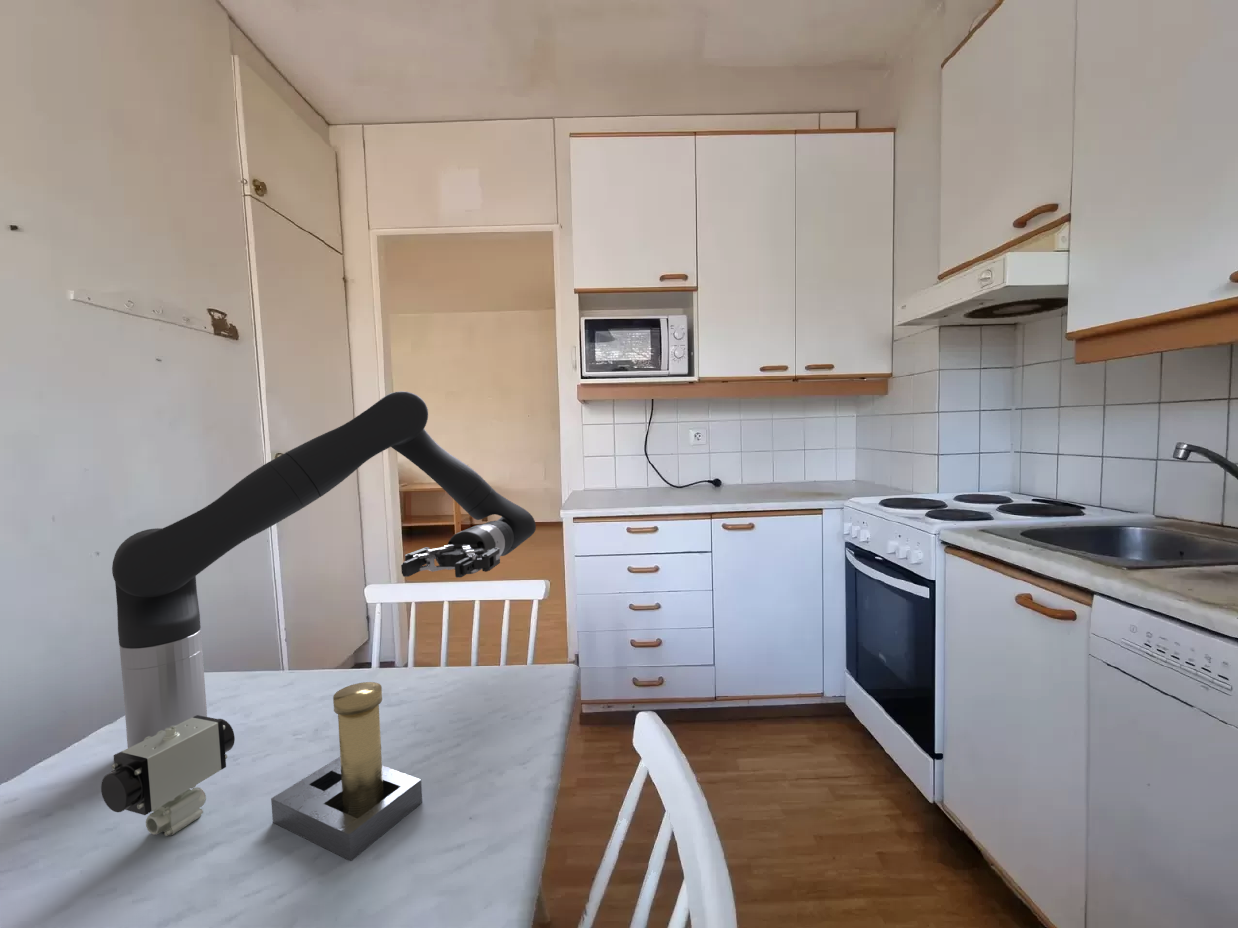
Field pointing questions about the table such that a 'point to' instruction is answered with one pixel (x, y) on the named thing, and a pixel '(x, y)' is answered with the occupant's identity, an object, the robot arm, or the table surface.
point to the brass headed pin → (360, 746)
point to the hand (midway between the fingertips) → (430, 570)
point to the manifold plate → (320, 810)
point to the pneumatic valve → (169, 773)
